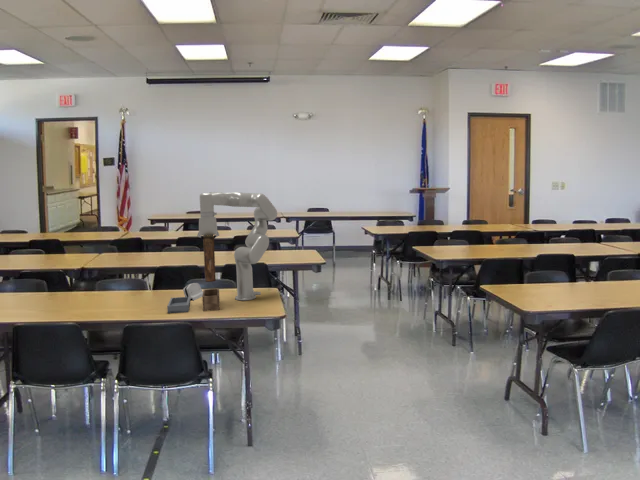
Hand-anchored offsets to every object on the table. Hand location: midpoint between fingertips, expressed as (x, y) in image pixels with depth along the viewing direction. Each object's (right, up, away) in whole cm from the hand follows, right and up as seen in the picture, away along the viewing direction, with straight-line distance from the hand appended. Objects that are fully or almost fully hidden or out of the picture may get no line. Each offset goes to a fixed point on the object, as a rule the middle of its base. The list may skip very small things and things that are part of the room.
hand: (209, 247), depth 311 cm
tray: (-17, -35, +1) cm, 39 cm away
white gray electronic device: (-15, -32, +28) cm, 45 cm away
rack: (+1, -34, +4) cm, 34 cm away
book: (0, -19, +2) cm, 19 cm away
